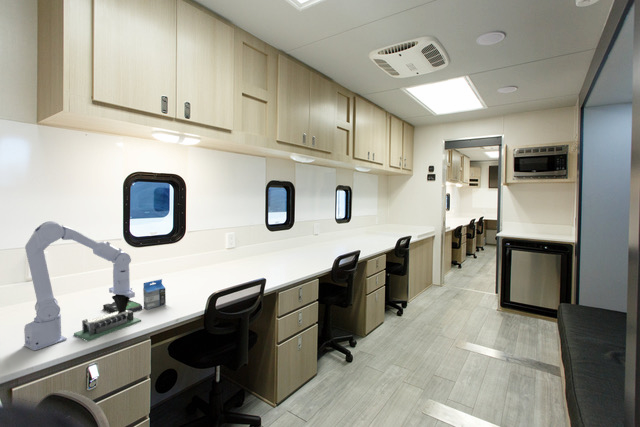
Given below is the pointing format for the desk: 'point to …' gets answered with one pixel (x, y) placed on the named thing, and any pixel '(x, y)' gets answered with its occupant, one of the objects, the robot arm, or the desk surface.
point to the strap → (106, 317)
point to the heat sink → (104, 324)
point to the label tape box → (154, 294)
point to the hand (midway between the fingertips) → (122, 311)
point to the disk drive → (130, 306)
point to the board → (130, 321)
